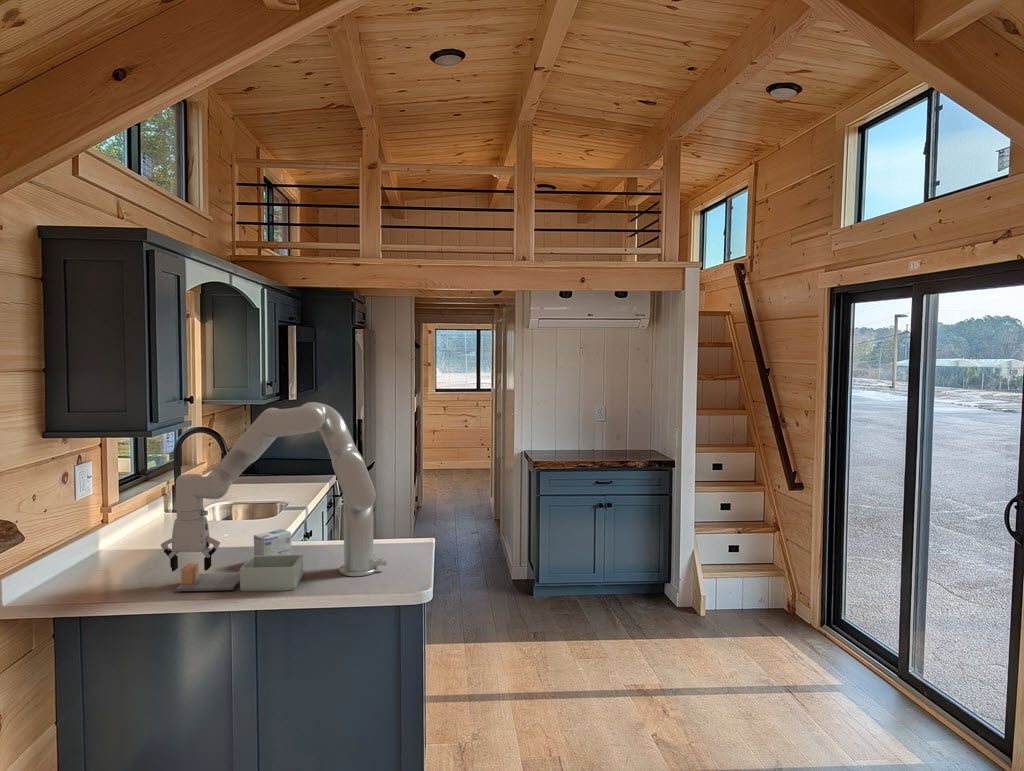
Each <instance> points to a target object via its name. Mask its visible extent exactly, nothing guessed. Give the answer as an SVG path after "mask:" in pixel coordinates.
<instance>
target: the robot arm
mask: <svg viewBox="0 0 1024 771" xmlns="http://www.w3.org/2000/svg"><path fill="white" fill-rule="evenodd" d="M317 431H318V432H319V433H320V435H321V438H322V440H323V442H324V444H325V446H326V448H327V451H328V454H329V457H330V459H331V460H330V461H331V465H332V469H333V470H334V474H335V476H336V479H337V481H338V484H339V486H340V488H341V492H342V499H343V501H342V502H343V504H342V505H343V564H342V565H340V567H339V568H338V569H339V570H338V571H339V573H340V574H341V575H343V576H347V577H362V576H363V577H364V576H369V575H372V574H374V573H375V574H376V573H377V572H378V570H379V566H381V567H386V566H387V565H388V559H385V558H377V557H376V554H375V553H374V503H375V501H376V497H377V492H376V488H375V487H374V484H373V481H372V479H371V475H370V474H369V471H368V468H367V465H366V463H365V460H364V458H363V456H362V454H361V453H360V452H359V450H358V449H357V446H356V444H355V442H354V439H353V437H352V435H351V433H350V430H349V428H348V425H347V423H346V421H345V420H344V418H343V417H342V415H341V414H340V413H339V411H337V410H336V409H335V408H333V407H332V406H330V405H328V404H325V403H321V402H316V401H312V402H311V401H309V402H306V403H304V404H302V405H301V406H296V407H290V408H277V407H269V408H266V409H265V410H264V411H263V412H262V413H261V414H260V415H259V416H258V417H257V418H256V419H255V420H254V421H253V423H251V424H250V426H249V427H248V428H247V429H246V430H245V431H244V433H243V434H242V435H241V436H240V437H239V438H238V439H237V440H236V441H235V443H234V444H233V446H231V448H230V450H229V451H227V452H228V453H226V454H225V456H224V457H223V458H222V459H221V460H220V461H219V462H218V463H217V464H216V465H215V467H214V468H213V469H212V470H211V471H210V472H209V473H208V474H207V475H206V476H202V475H200V474H198V473H186V474H182V475H178V477H176V479H175V495H176V496H175V500H176V502H175V504H176V505H175V506H176V508H175V509H176V518H175V519H174V522H173V527H172V533H171V538H169V539H167V540H165V541H163V542H162V543H161V544H160V548H161V549H162V550H163V553H165V555H166V556H168V559H169V561H170V562H169V565H170V566H169V567H170V568H171V572H175V571H176V570H178V568H179V556H178V555H177V554H179V553H201V554H203V555H204V558H203V571H204V572H205V571H209V569H210V568H211V567H212V555H213V554H215V553H216V551H218V548H219V546H220V545H221V542H220V541H219V540H217V539H215V538H212V537H210V529H209V524H208V520H207V517H205V516H208V515H209V511H208V510H205V507H204V499H206V500H207V499H208V500H218V499H221V498H223V497H224V496H226V495H227V493H228V492H229V489H230V487H231V486H232V484H233V483H235V481H236V480H237V479H238V478H239V477H240V475H242V473H243V472H244V471H245V470H246V469H247V468H248V467H249V466H250V465H252V464H253V463H254V462H256V461H257V460H259V458H260V457H261V456H262V455H263V454H264V452H266V451H267V449H268V448H269V447H270V446H271V445H272V443H273V442H275V441H276V439H277V438H281V437H282V438H283V437H290V436H296V435H303V434H310V433H314V432H317ZM169 545H171V548H170V547H169ZM211 545H213V546H212V548H209V547H210V546H211Z"/></svg>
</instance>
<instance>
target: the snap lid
mask: <svg viewBox="0 0 1024 771" xmlns="http://www.w3.org/2000/svg"><path fill="white" fill-rule="evenodd" d="M199 568H200V567H199V563H196V562H191V563H187V564H185V566H183V567H182V568H181V569H180V579H181V580H180V581H181V583H180V585H178V586H177V587H176V588H175V592H216V591H217V592H218V591H219V592H221V591H222V592H223V591H224V592H225V591H233V590H234V589H235V588H236V587H237V586H238V585H240V572H216V573H215V572H212V573H210V572H209V573H208V572H206V573H199V572H200V571H199Z"/></svg>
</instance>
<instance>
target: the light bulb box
mask: <svg viewBox="0 0 1024 771" xmlns="http://www.w3.org/2000/svg"><path fill="white" fill-rule="evenodd" d="M253 552H254V553H253V554H254V555H253V556H267V555H292V532H291V531H289V530H285V529H282V528H280V529H276V530H275V529H274V530H270V531H268V532H267V531H266V532H262V533H258V534H254V535H253Z"/></svg>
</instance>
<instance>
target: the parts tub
mask: <svg viewBox="0 0 1024 771" xmlns="http://www.w3.org/2000/svg"><path fill="white" fill-rule="evenodd" d="M239 573H240V582H239V592H266V591H267V592H269V591H271V592H272V591H273V592H275V591H277V592H279V591H295V590H296V589H297V587H298V585H299V584H300V582H301V581H302V579H303V578H304V554H291V555H267V556H254V555H252V556H250V557H249V559H247V561H245V563H243V565H241V567H240V568H239Z"/></svg>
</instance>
